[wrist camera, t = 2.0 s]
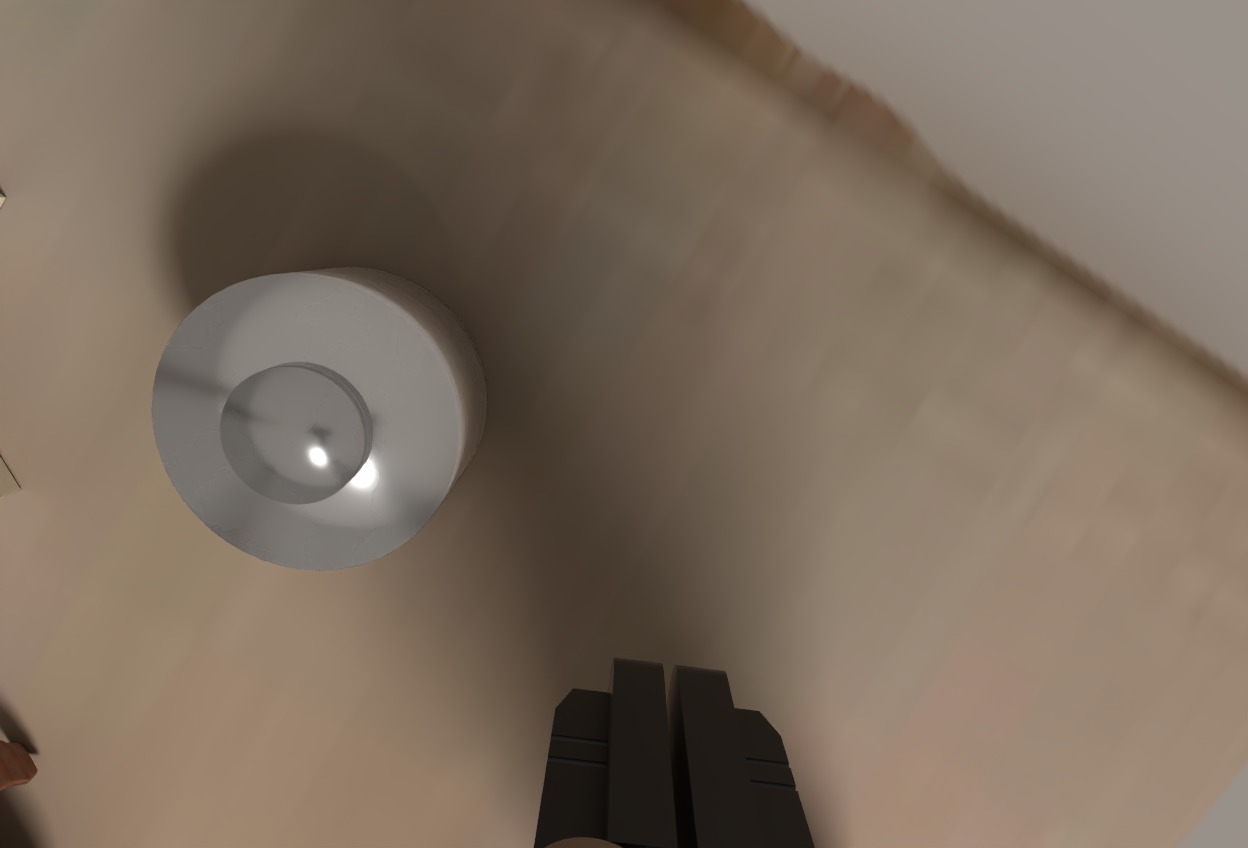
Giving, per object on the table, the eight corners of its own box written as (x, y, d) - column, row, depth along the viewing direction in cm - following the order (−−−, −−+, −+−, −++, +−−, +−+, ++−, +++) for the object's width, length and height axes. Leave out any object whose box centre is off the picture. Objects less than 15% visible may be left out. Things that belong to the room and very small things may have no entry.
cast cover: (499, 285, 27) (463, 299, 21) (476, 528, 29) (437, 602, 23) (237, 249, 27) (127, 253, 21) (233, 497, 29) (132, 564, 23)
